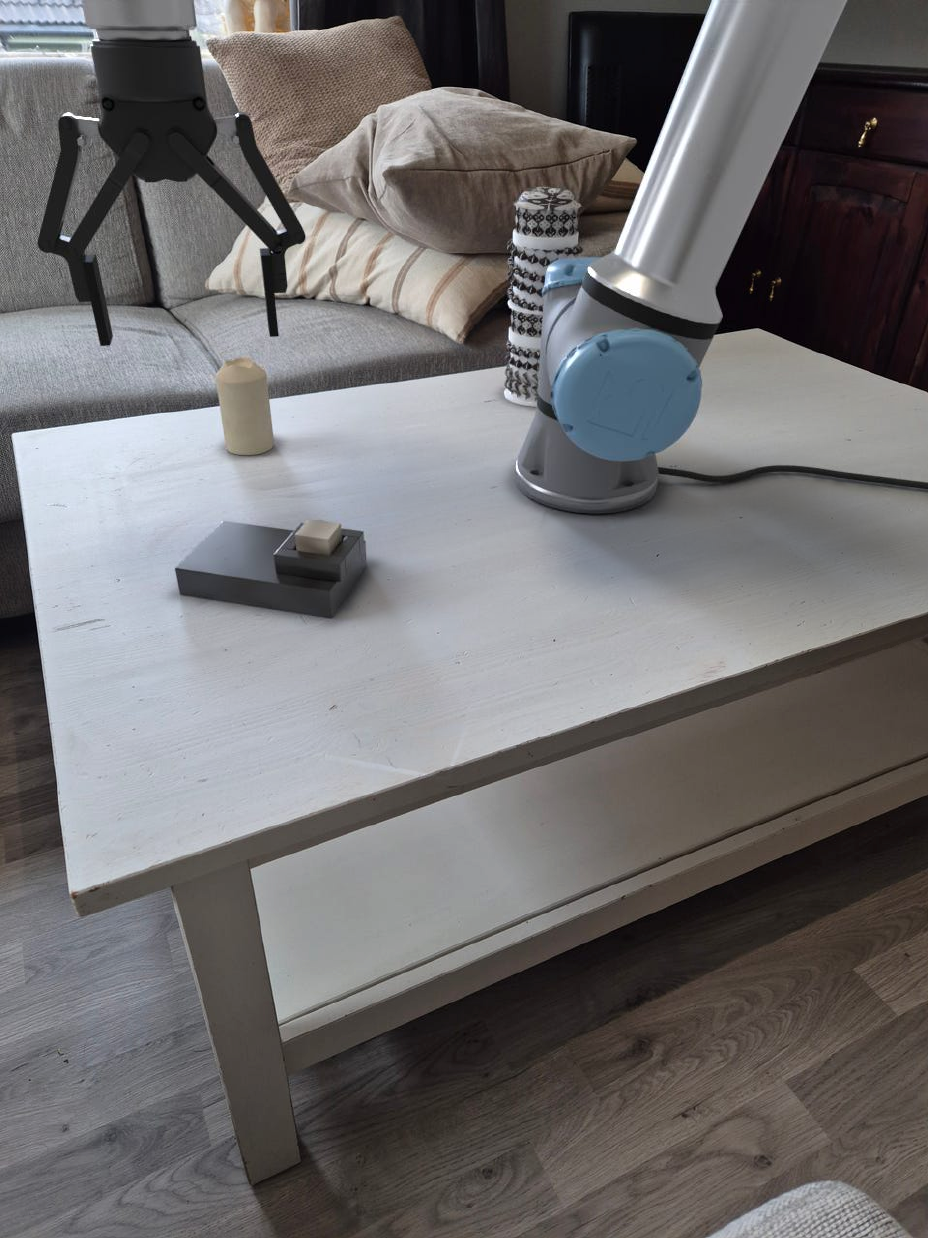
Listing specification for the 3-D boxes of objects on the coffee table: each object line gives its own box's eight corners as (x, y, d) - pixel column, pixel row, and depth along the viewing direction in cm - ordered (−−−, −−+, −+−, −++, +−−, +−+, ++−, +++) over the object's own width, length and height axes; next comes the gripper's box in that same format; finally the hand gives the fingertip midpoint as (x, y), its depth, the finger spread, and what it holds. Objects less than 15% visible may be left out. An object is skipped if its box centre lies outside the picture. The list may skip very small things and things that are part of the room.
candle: (263, 458, 101) (253, 371, 95) (218, 453, 101) (204, 367, 96) (281, 439, 105) (272, 355, 99) (237, 435, 106) (226, 351, 100)
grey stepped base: (371, 566, 81) (369, 522, 79) (336, 619, 74) (333, 573, 72) (226, 545, 84) (220, 502, 82) (179, 594, 77) (170, 549, 74)
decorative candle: (533, 413, 113) (547, 199, 99) (487, 392, 119) (493, 187, 105) (584, 398, 118) (604, 191, 104) (537, 378, 124) (549, 181, 110)
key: (342, 540, 77) (341, 522, 76) (330, 557, 74) (328, 539, 73) (310, 536, 77) (308, 518, 76) (296, 552, 75) (294, 534, 74)
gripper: (315, 36, 68) (334, 316, 80) (-35, 32, 64) (40, 331, 76) (325, 38, 62) (344, 341, 74) (-61, 34, 58) (26, 359, 69)
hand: (191, 336), depth 75 cm, fingers open, 13 cm apart
